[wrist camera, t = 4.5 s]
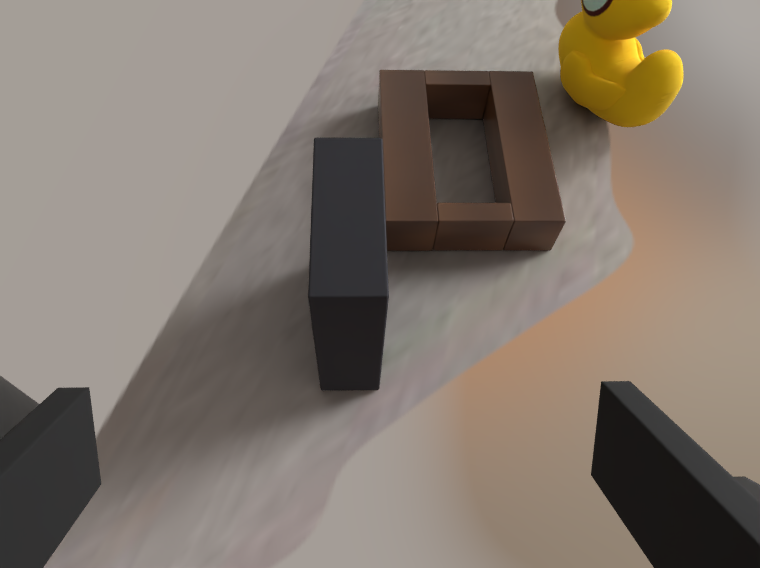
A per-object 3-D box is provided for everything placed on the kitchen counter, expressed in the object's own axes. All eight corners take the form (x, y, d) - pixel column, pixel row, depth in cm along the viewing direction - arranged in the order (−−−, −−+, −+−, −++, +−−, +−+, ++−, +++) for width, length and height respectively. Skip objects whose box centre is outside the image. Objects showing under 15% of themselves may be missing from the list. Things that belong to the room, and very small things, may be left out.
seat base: (383, 251, 35) (385, 221, 33) (377, 104, 41) (379, 69, 39) (551, 250, 36) (566, 220, 33) (521, 106, 42) (532, 71, 39)
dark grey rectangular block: (320, 391, 31) (308, 297, 22) (323, 259, 35) (313, 136, 26) (379, 390, 31) (388, 296, 22) (375, 259, 35) (382, 137, 26)
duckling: (515, 53, 45) (554, -86, 36) (575, 35, 46) (627, -104, 37) (604, 161, 40) (675, 30, 31) (669, 138, 41) (754, 5, 32)
